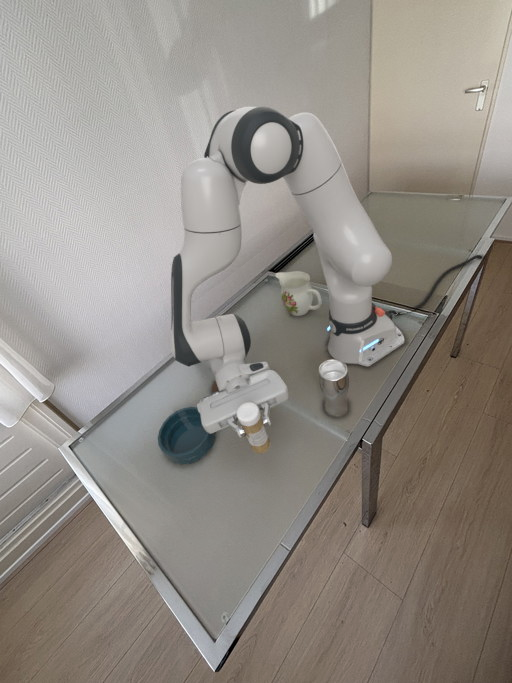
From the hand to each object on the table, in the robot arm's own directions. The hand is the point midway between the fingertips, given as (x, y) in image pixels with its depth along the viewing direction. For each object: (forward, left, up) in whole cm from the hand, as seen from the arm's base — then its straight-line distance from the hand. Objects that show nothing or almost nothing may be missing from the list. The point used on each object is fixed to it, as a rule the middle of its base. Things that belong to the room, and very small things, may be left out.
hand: (255, 430), depth 66 cm
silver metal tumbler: (-22, -7, -16) cm, 28 cm away
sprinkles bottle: (0, -1, -8) cm, 8 cm away
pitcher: (-32, -49, -16) cm, 61 cm away
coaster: (+3, -29, -16) cm, 33 cm away
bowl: (+17, -16, -16) cm, 28 cm away
